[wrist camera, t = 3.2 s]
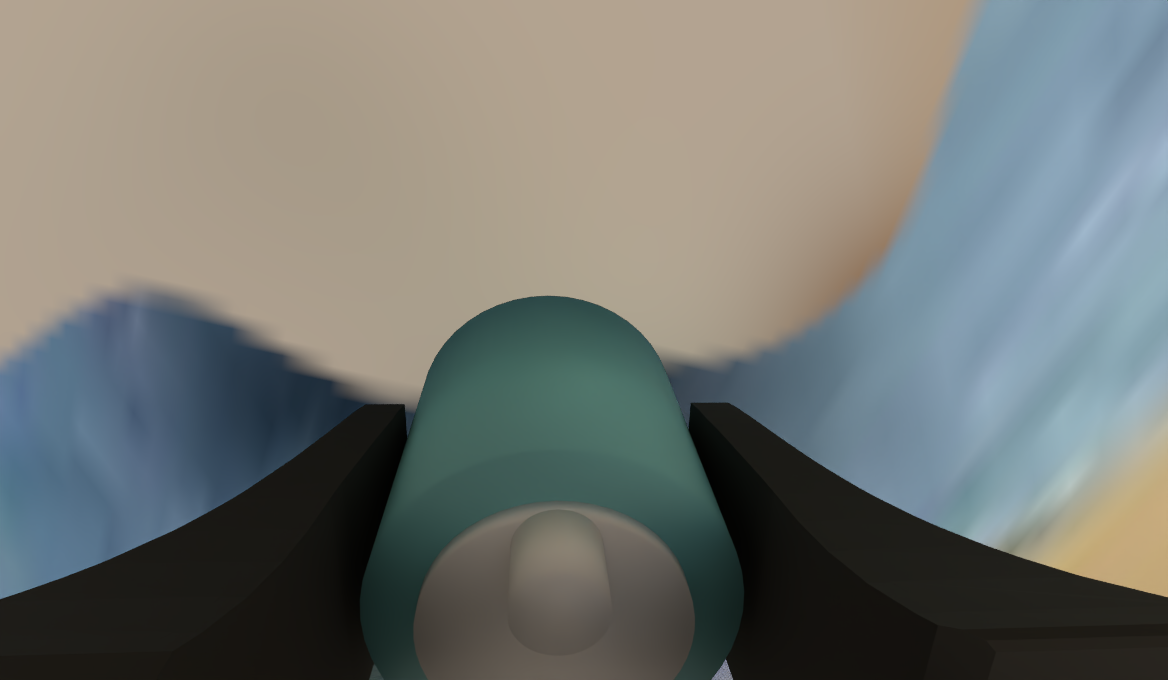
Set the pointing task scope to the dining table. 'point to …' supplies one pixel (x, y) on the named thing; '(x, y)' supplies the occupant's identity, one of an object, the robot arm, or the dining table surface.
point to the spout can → (550, 514)
